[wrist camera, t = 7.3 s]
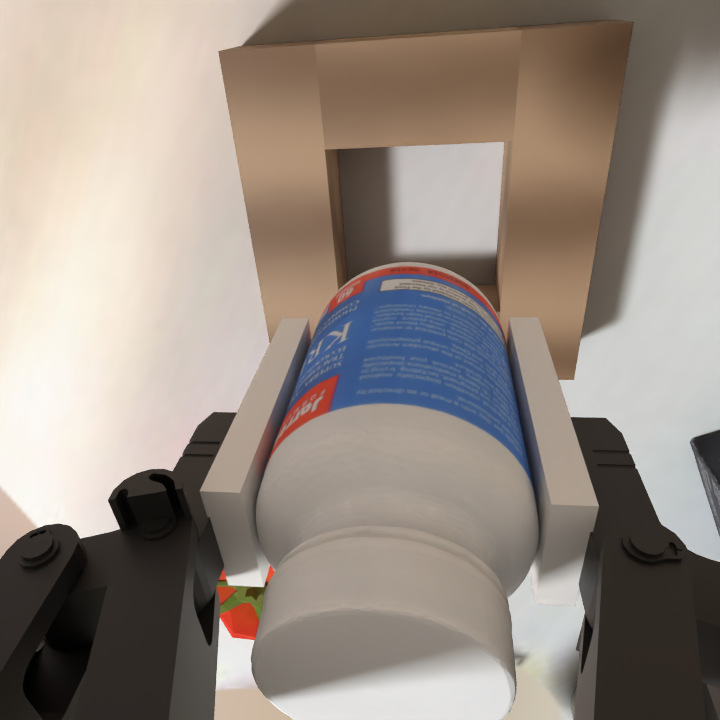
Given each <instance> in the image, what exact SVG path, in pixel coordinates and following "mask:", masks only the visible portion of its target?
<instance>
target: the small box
mask: <svg viewBox="0 0 720 720" xmlns="http://www.w3.org/2000/svg"><path fill="white" fill-rule="evenodd" d="M690 444H691V447H692V450H693V452H694V455H695V459H696V462H697V466H698V469H699V472H700V475H701V479H702V482H703V485H704V488H705V491H706V495H707V498H708V501H709V504H710V507H711V510H712V513H713V517H714V520H715V523H716V526H717V530H718V533H719V536H720V431H719V432H716V433H712V434H709V435H706V436H702V437H699V438H695V439H692V440H691V441H690Z"/></svg>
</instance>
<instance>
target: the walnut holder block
mask: <svg viewBox="0 0 720 720" xmlns="http://www.w3.org/2000/svg"><path fill="white" fill-rule="evenodd" d="M632 28H633V22H626V21H616V20H602V21H588V22H574V23H560V24H546V25H531V26H517V27H503V28H489V29H475V30H460V31H446V32H432V33H418V34H404V35H390V36H375V37H361V38H347V39H333V40H319V41H304V42H290V43H276V44H262V45H248V46H239V47H235V48H230V49H226V50H222V51H218V52H219V57H220V63H221V69H222V74H223V80H224V86H225V92H226V97H227V103H228V109H229V114H230V120H231V126H232V131H233V137H234V143H235V148H236V154H237V160H238V165H239V171H240V177H241V182H242V188H243V194H244V199H245V205H246V211H247V216H248V222H249V228H250V233H251V239H252V245H253V250H254V256H255V262H256V268H257V273H258V279H259V285H260V290H261V296H262V302H263V307H264V313H265V319H266V324H267V330H268V336H269V341H270V343H271V341H272V338H273V336H274V334H275V332H276V330H277V328H278V326H279V324H280V322H281V320H282V318H309V324H310V332H311V339H312V338H313V335H314V332H315V329H316V327H317V324H318V322H319V319H320V317H321V315H322V313H323V311H324V309H325V308H326V306H327V304H328V303H329V301H330V300H331V299H332V297H333V296H334V295H335V294H336V293H337V292H338V291H339V289H340V288H341V287H343V286H344V285H345V284H346V283H347V282H348V274H347V263H346V251H345V239H344V227H343V215H342V203H341V191H340V179H339V167H338V155H337V149H349V148H372V147H394V146H417V145H439V144H462V143H485V142H504V156H503V171H502V185H501V200H500V215H499V229H498V244H497V258H496V273H495V284H491V285H474V286H476V287H477V288H478V289H479V290H480V291H481V292H482V293H483V294H484V296H485V297H486V298H487V299H488V300H489V302H490V303H491V305H492V306H493V308H494V310H495V311H496V313H497V315H498V318H499V320H500V323H501V326H502V329H503V333H504V336H505V340H506V344H507V332H508V321H509V317H538V318H539V321H540V324H541V327H542V330H543V333H544V336H545V339H546V343H547V346H548V349H549V352H550V355H551V358H552V361H553V364H554V368H555V371H556V374H557V377H558V380H574V375H575V369H576V363H577V357H578V351H579V345H580V339H581V333H582V327H583V321H584V315H585V309H586V303H587V297H588V291H589V285H590V279H591V273H592V267H593V261H594V255H595V249H596V243H597V237H598V231H599V225H600V219H601V213H602V208H603V202H604V196H605V190H606V184H607V178H608V172H609V166H610V160H611V154H612V148H613V142H614V136H615V130H616V124H617V118H618V112H619V106H620V100H621V94H622V88H623V82H624V76H625V70H626V64H627V58H628V52H629V46H630V40H631V34H632Z"/></svg>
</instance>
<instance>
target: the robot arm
mask: <svg viewBox="0 0 720 720" xmlns="http://www.w3.org/2000/svg"><path fill="white" fill-rule="evenodd" d="M311 341H312V339H311V332H310V324H309V318H282V320H281V322H280V324H279V326H278V328H277V330H276V332H275V334H274V336H273V338H272V341H271V343H270V345H269V347H268V349H267V351H266V353H265V355H264V357H263V359H262V361H261V364H260V366H259V368H258V370H257V372H256V374H255V376H254V378H253V380H252V382H251V385H250V387H249V389H248V391H247V393H246V395H245V397H244V399H243V401H242V403H241V405H240V408H239V410H238V412H237V413H228V412H213V413H212V414H211V415H210V416H209V417H208V418H206V419H205V420H204V421H203V422H202V423H201V424H199V425H198V427H197V428H196V430H195V432H194V434H193V436H192V438H191V439H190V443H189V444H188V445H187V447H186V448H185V450H184V452H183V456H182V457H180V459H179V461H178V463H177V465H176V466H175V468H174V470H173V472H172V471H169V470H166V469H150V470H147V471H143V472H140V473H137V474H135V475H133V476H131V477H129V478H127V479H126V480H124V481H123V482H122V483H121V484H120V485H118V486H117V487H116V488H115V489H114V490H113V492H112V494H111V496H110V498H109V499H108V501H109V504H110V506H111V508H112V511H113V513H114V515H115V517H116V520H117V522H118V524H119V527H120V529H119V530H116V531H113V532H109V533H104V534H100V535H95V536H91V537H86V538H82V539H80V538H79V536H78V534H77V532H76V531H75V530H74V529H73V528H71V527H70V526H68V525H63V524H53V525H45V526H43V527H40V528H37V529H35V530H32V531H30V532H29V533H27V534H26V535H24V536H22V537H21V538H20V539H18V540H17V541H16V542H15V543H14V544H13V545H12V546H11V547H10V548H9V549H8V550H7V551H6V552H5V554H4V555H3V556H2V558H1V559H0V720H214V706H215V689H216V671H217V653H218V635H219V617H220V599H219V594H218V591H217V588H216V587H217V584H218V582H219V579H220V576H221V573H222V571H223V569H224V572H225V576H226V579H227V582H228V585H233V586H250V587H264V585H265V581H266V578H267V575H268V571H269V568H270V563H269V562H268V560H267V558H266V556H265V554H264V552H263V549H262V547H261V544H260V542H259V537H258V532H257V526H256V504H257V498H258V493H259V490H260V486H261V483H262V479H263V477H264V471H265V468H266V466H267V463H268V461H269V457H270V455H271V452H272V449H273V446H274V443H275V441H276V438H277V436H278V433H279V430H280V428H281V425H282V422H283V420H284V417H285V414H286V411H287V408H288V406H289V403H290V400H291V398H292V395H293V392H294V389H295V386H296V383H297V380H298V377H299V374H300V372H301V369H302V367H303V364H304V361H305V358H306V355H307V352H308V349H309V347H310V344H311ZM506 346H507V351H508V357H509V363H510V368H511V373H512V378H513V384H514V389H515V395H516V400H517V405H518V410H519V416H520V421H521V427H522V433H523V438H524V443H525V448H526V453H527V458H528V463H529V468H530V474H531V479H532V484H533V489H534V494H535V500H536V507H537V514H538V522H539V538H538V544H537V551H536V554H535V558H534V561H533V563H532V565H531V568H530V570H529V571H530V577H531V583H532V589H533V595H534V601H535V604H548V605H565V606H576V603H577V599H578V594H579V590H580V592H581V597H582V601H583V605H584V609H585V615H584V619H583V623H582V627H581V631H580V635H579V639H578V643H577V647H576V650H577V651H580V653H579V665H578V677H577V687H576V689H575V690H574V693H573V695H572V698H571V709H572V714H573V719H574V720H720V562H717V561H714V560H710V559H707V558H705V557H702V556H699V555H697V554H695V553H693V552H691V551H689V550H687V548H686V546H685V544H684V543H683V542H682V541H681V540H680V539H679V537H678V536H677V535H676V534H675V533H673V532H672V531H670V530H669V529H667V528H666V527H664V526H663V525H661V523H660V522H659V519H658V517H657V515H656V512H655V510H654V508H653V505H652V503H651V501H650V498H649V496H648V494H647V491H646V489H645V487H644V484H643V482H642V480H641V477H640V475H639V473H638V470H637V469H635V463H634V461H633V458H632V456H631V454H629V449H628V447H627V444H626V442H625V440H624V437H623V435H622V433H621V432H620V431H619V430H618V429H617V428H616V427H615V426H613V425H612V424H611V423H610V422H609V421H608V420H607V419H606V418H580V417H570V414H569V411H568V408H567V405H566V402H565V399H564V396H563V393H562V389H561V386H560V383H559V380H558V377H557V374H556V371H555V368H554V364H553V361H552V358H551V355H550V352H549V349H548V346H547V343H546V339H545V336H544V333H543V330H542V327H541V324H540V321H539V318H538V317H509V321H508V332H507V344H506Z"/></svg>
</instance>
